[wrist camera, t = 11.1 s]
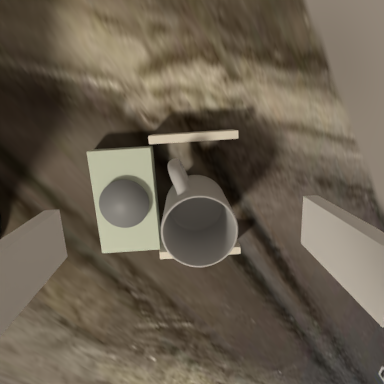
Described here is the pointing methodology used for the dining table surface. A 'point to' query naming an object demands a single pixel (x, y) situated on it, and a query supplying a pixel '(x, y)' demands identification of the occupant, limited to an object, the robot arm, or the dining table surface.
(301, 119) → the dining table surface
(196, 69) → the dining table surface
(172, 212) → the mug
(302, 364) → the dining table surface
